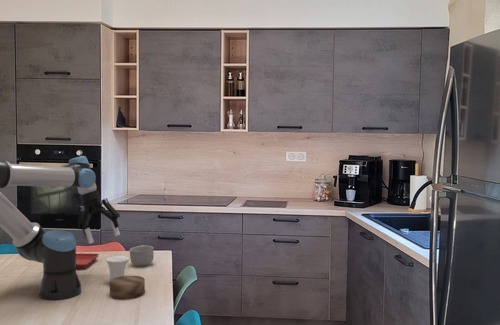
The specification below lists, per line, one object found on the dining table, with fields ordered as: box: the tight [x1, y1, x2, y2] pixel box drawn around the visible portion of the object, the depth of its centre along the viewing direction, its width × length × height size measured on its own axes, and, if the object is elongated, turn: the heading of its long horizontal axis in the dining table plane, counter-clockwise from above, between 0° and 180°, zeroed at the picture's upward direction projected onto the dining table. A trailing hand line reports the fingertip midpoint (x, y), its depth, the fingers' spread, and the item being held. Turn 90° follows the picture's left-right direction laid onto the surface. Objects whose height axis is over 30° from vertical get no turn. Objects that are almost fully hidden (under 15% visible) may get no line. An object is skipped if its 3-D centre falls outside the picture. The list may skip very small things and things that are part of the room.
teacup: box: [129, 244, 154, 267], centre depth 233 cm, size 14×11×8 cm
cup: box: [106, 255, 130, 281], centre depth 205 cm, size 9×9×10 cm
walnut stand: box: [109, 275, 146, 300], centre depth 191 cm, size 13×13×5 cm
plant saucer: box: [76, 253, 100, 270], centre depth 232 cm, size 18×18×3 cm
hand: (104, 239), depth 214 cm, fingers open, 13 cm apart
